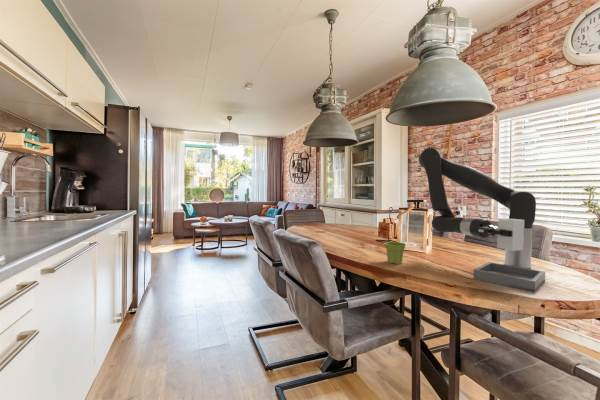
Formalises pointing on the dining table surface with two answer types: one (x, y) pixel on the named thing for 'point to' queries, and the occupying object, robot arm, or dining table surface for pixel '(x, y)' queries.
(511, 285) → the tray
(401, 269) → the dining table surface
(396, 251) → the plant pot
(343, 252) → the dining table surface
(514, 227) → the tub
